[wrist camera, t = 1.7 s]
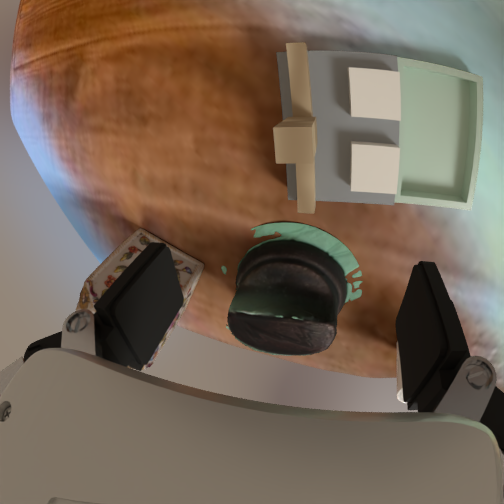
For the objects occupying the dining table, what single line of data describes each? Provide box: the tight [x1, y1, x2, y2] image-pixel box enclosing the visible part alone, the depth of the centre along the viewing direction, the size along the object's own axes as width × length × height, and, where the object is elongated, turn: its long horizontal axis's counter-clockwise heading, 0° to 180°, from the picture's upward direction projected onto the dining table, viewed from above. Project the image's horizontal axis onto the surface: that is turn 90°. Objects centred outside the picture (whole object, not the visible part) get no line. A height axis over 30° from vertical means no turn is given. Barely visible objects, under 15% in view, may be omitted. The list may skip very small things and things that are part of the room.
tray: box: [394, 57, 483, 210], centre depth 21 cm, size 10×15×2 cm, turn 6°
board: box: [276, 51, 399, 205], centre depth 24 cm, size 11×15×3 cm
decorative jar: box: [76, 228, 204, 370], centre depth 36 cm, size 12×12×18 cm
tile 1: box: [348, 67, 401, 121], centre depth 19 cm, size 4×4×2 cm
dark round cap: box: [221, 223, 362, 356], centre depth 35 cm, size 20×20×9 cm
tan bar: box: [273, 42, 317, 213], centre depth 20 cm, size 2×16×9 cm, turn 6°
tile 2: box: [350, 141, 400, 194], centre depth 23 cm, size 4×4×2 cm
